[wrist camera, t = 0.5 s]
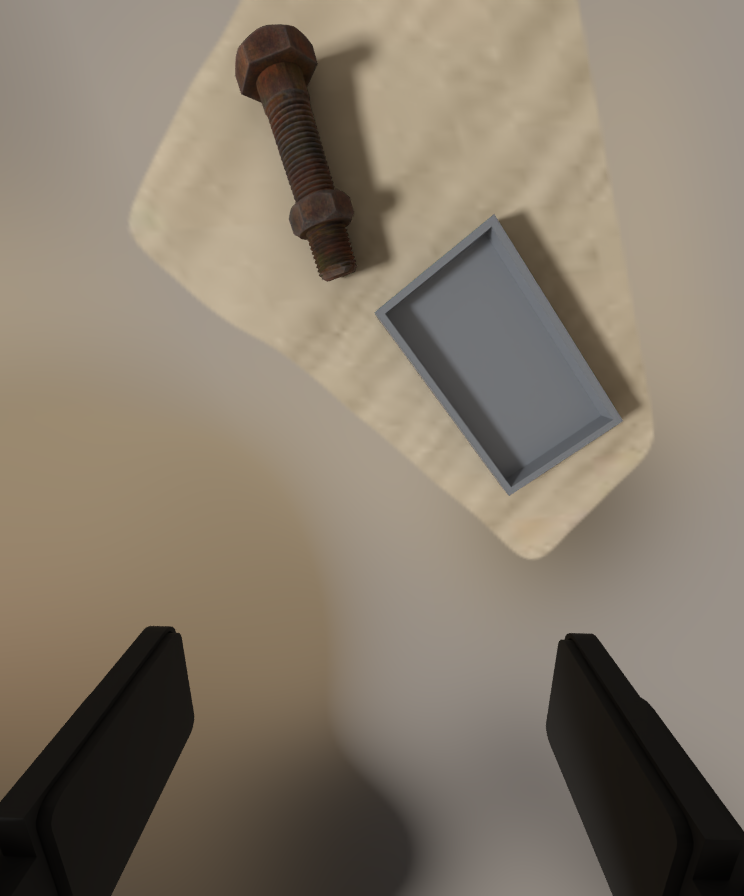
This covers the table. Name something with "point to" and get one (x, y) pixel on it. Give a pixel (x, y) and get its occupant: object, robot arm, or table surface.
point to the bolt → (298, 140)
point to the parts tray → (499, 358)
